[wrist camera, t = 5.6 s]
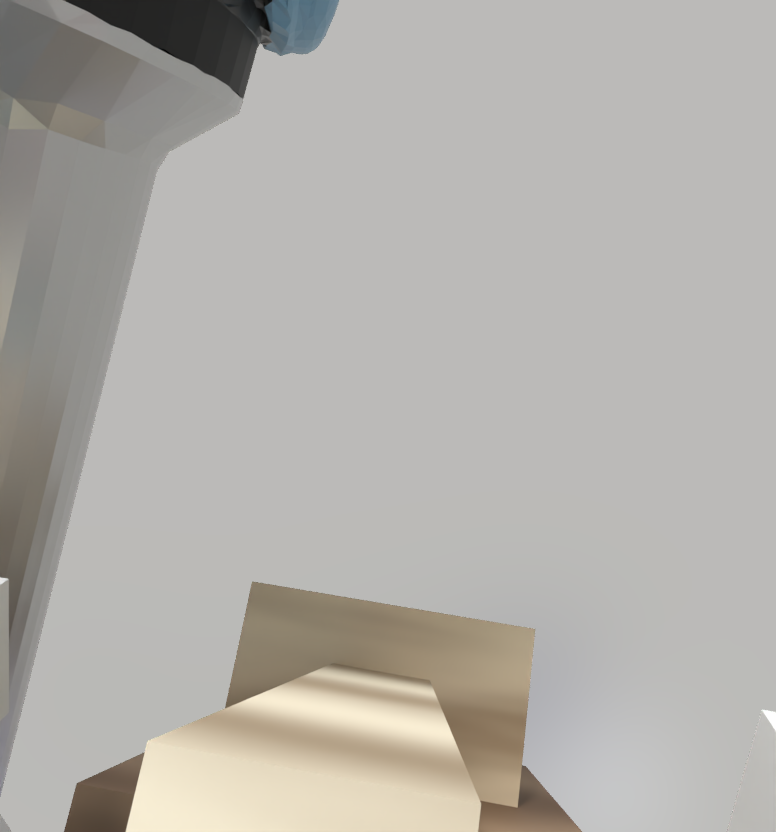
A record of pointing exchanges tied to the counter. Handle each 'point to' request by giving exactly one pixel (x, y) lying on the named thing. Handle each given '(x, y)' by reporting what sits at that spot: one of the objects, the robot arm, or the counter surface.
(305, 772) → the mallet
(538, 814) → the step stand
